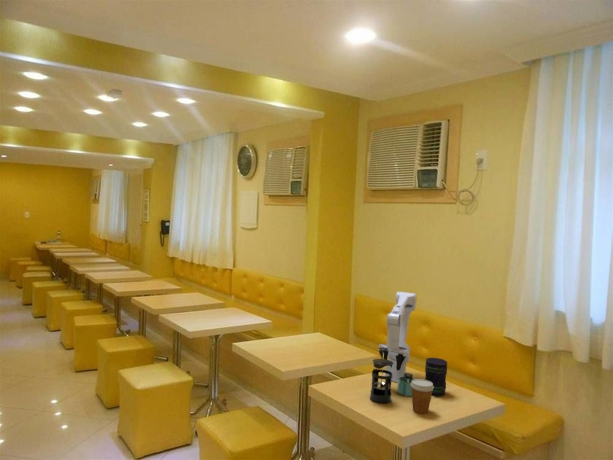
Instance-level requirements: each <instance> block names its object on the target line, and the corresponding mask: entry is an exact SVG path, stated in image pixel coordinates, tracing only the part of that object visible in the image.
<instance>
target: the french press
mask: <svg viewBox="0 0 613 460" xmlns="http://www.w3.org/2000/svg"><path fill="white" fill-rule="evenodd" d="M378 349H379V351H380V350H383V359H382V358H375V359H372V363H373V364H372V365H373V369H372V371H371V379H372V380H371V388H370V389H371V390H370V396H369V399H370V401H371V402H372V403H376V404H380V405H381V404H382V405H385V404H386V405H387V404H390V403H391V402H392V392H391V391H392V380H391V378H392V375H393V374H392V372H390V371H387V370H386V369H384V367H385V368H386V366H390V367H391V368H392V365H393V362H392V361H390V360H389V359H388V358H387V359H384V353H385V350H389V349H388V348H385V347H380V348H379V347H378ZM380 373H381V375H380ZM385 373H387V374H389V376H385V375H383V374H385ZM379 379H380V381H379ZM383 380H384V381H385V382H383Z"/></svg>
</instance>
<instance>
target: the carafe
mask: <svg viewBox="0 0 613 460" xmlns="http://www.w3.org/2000/svg"><path fill="white" fill-rule="evenodd" d="M414 379H416V378H415V377H413V378H409V383H407V378H405V377H403V376H402V377H400V378H398V382H397V393H398V394H399V395H402V396H404V397H412V387H411V382H412V380H414Z"/></svg>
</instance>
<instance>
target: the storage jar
mask: <svg viewBox="0 0 613 460" xmlns="http://www.w3.org/2000/svg"><path fill="white" fill-rule="evenodd" d="M424 366H425V368H424V372H425V377H424V380H427V381H430V382H432V383H433V386H434V389H433V390H432V395H431V397H435V398H439V397H444V396H446V390H447V382H446V379H447V374H448V361H447V360H445V359H442V358H437V357H427V358H426V359H425V364H424Z"/></svg>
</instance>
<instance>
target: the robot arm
mask: <svg viewBox="0 0 613 460" xmlns="http://www.w3.org/2000/svg"><path fill="white" fill-rule="evenodd" d="M417 297H418V295H417V294H416V293H414V292H407V291H406V292H404V291H400V290H398V291H397V292H396V293H395V305H394V306H393V308H392V310H391V311H390V313H387V316H386V328H387V337H386V344H382V343H381V344H380V343H379V344H378V349H379V348H380V347H385V348H388V349H389V350H385V353H384V359H387V360H390V361H392V362H393V365H392V368H391V367H390V366H385V370H387V371H390V372H392V374H393V375H392V378H391V382H395V383H398V378H400V377H402V376H403V377H404V373H406V369H407V366H406V365H407V364H408V363H409V362H410V357H411V348H410V346H409V345H408V344H407V342H406V340H407V336H408V329H409V324H410V323H409V322H410V316H411V313H412V312H414V311H415V310H416V306H417ZM378 353H379V355H380V359H383V350H380V349H379V350H378ZM384 376H389V374H387V373H384Z"/></svg>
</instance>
